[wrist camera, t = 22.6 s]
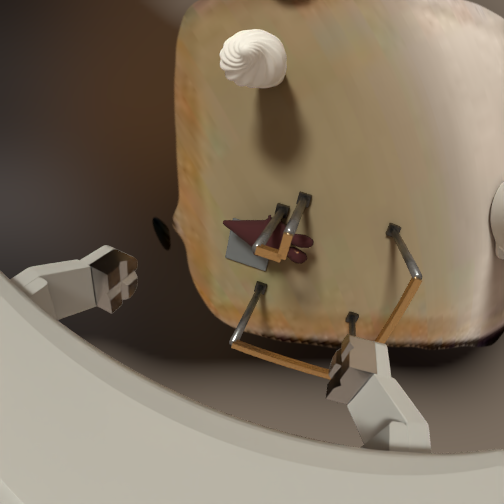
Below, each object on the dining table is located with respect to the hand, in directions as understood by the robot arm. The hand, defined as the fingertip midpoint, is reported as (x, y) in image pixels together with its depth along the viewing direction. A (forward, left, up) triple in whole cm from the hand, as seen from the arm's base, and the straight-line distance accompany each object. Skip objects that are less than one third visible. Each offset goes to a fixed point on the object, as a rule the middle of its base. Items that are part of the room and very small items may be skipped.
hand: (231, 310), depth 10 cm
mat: (+7, +16, -37) cm, 41 cm away
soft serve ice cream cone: (+10, -14, -37) cm, 41 cm away
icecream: (+12, +11, -33) cm, 37 cm away
